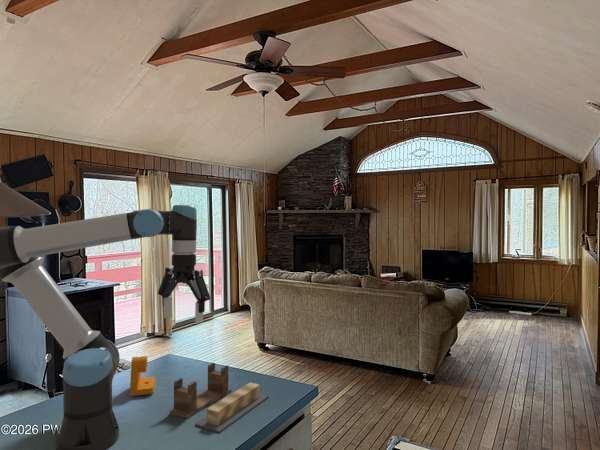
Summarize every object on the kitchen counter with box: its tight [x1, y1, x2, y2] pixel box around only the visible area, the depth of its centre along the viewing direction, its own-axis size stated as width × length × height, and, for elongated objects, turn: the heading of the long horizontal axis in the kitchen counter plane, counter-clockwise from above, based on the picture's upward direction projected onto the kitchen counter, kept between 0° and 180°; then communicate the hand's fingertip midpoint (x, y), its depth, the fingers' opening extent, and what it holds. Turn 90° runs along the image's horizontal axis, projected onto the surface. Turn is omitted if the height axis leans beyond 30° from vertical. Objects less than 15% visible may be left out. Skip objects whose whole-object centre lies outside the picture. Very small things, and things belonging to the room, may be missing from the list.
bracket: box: [169, 362, 233, 419], centre depth 134 cm, size 22×7×10 cm, turn 153°
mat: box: [194, 393, 270, 434], centre depth 128 cm, size 26×9×1 cm, turn 152°
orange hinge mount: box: [129, 355, 157, 397], centre depth 143 cm, size 11×7×12 cm, turn 15°
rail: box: [206, 382, 261, 426], centre depth 128 cm, size 22×4×4 cm, turn 152°
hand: (182, 320), depth 130 cm, fingers open, 13 cm apart
